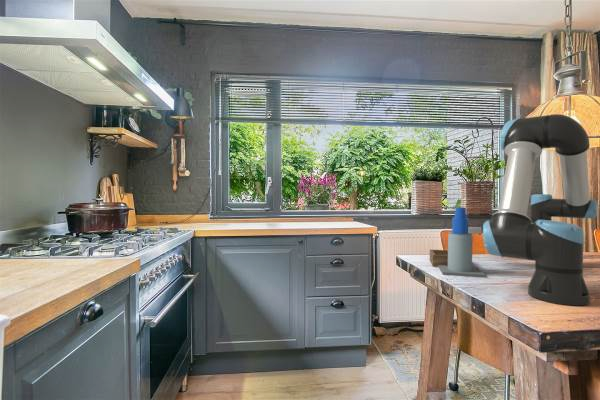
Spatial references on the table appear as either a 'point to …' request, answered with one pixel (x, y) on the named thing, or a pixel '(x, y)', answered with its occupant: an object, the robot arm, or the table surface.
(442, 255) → the walnut collar
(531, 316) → the table surface
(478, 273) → the rubber mat
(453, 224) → the spray bottle
